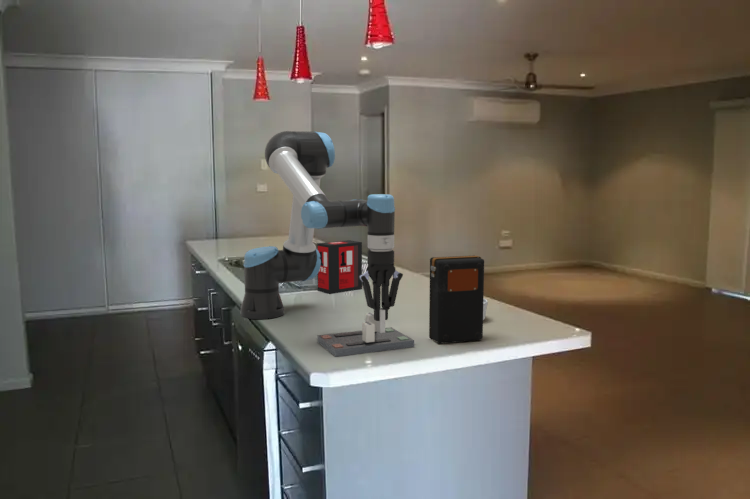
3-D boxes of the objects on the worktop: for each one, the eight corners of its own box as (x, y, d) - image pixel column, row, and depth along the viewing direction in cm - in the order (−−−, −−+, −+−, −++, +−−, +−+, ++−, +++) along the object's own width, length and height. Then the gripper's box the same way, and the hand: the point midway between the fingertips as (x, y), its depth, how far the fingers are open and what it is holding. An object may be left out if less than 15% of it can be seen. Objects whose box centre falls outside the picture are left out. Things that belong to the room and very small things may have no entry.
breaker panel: (317, 342, 188) (317, 334, 187) (391, 333, 197) (391, 326, 197) (335, 356, 173) (335, 349, 173) (414, 347, 182) (414, 339, 182)
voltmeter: (473, 334, 196) (475, 254, 193) (486, 341, 188) (488, 258, 185) (426, 338, 192) (427, 256, 188) (437, 345, 184) (438, 260, 180)
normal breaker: (365, 329, 192) (365, 313, 191) (373, 329, 193) (373, 312, 192) (369, 332, 189) (369, 315, 188) (377, 331, 190) (376, 314, 189)
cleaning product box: (349, 286, 275) (349, 240, 272) (362, 289, 268) (361, 242, 265) (317, 290, 264) (317, 243, 262) (329, 294, 258) (329, 245, 255)
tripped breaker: (362, 340, 181) (362, 322, 180) (370, 339, 182) (370, 321, 181) (366, 342, 178) (366, 324, 177) (374, 341, 179) (374, 323, 178)
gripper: (364, 252, 172) (364, 337, 175) (407, 249, 177) (407, 332, 180) (354, 249, 179) (354, 330, 182) (396, 246, 184) (395, 326, 187)
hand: (380, 331), depth 181 cm, fingers closed
